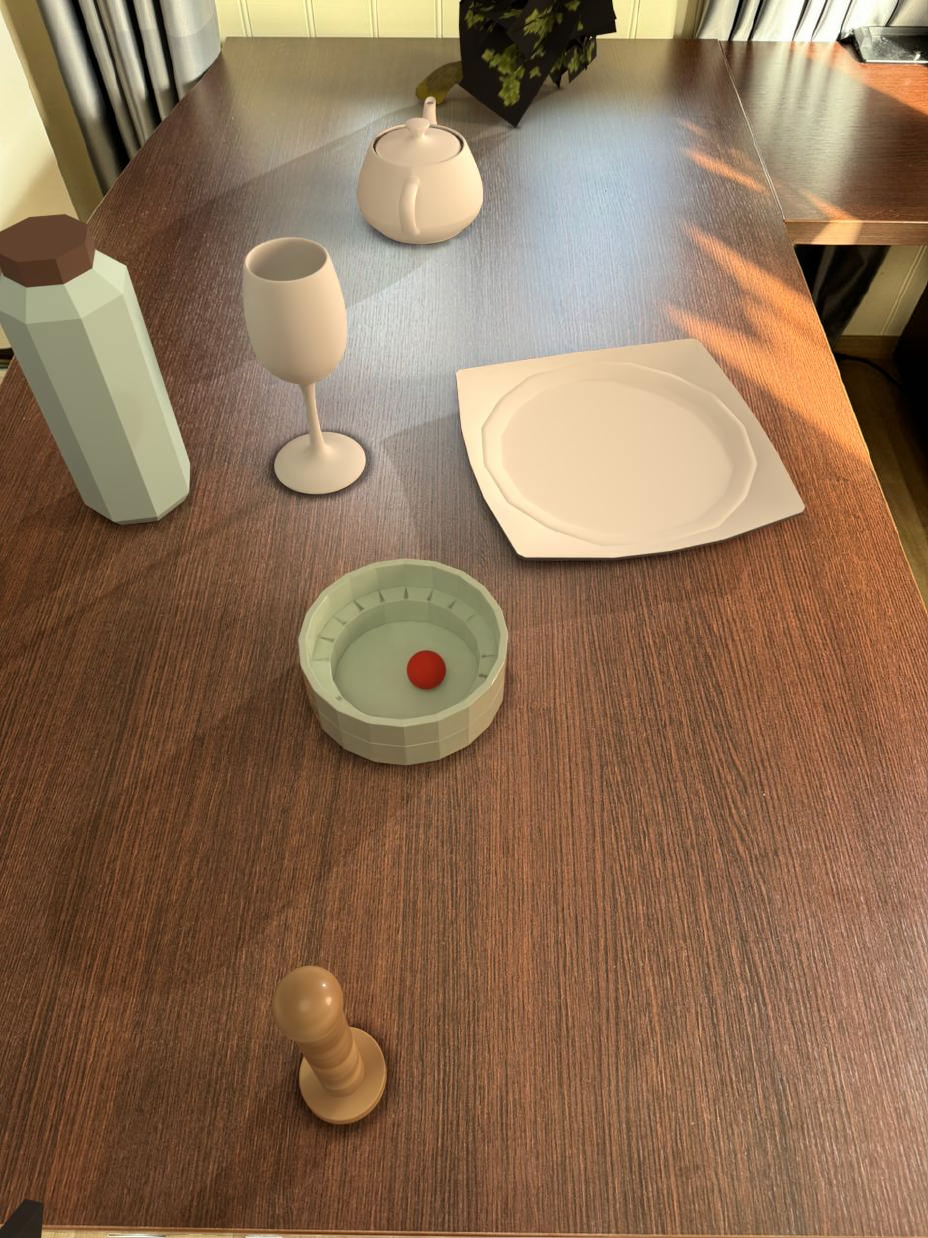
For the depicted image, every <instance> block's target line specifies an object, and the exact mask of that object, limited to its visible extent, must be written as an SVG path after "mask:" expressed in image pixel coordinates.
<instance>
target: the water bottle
mask: <svg viewBox="0 0 928 1238" xmlns="http://www.w3.org/2000/svg"><path fill="white" fill-rule="evenodd" d="M0 270H1V275H0V326H1V328H2V330H3V332H4V335H5V337H6V339H7V341H8V343H9V345H10V348H11V350H12V352H13V354H14V356H15V358H16V360H17V362H18V364H19V367H20V369H21V371H22V373H23V375H24V377H25V379H26V382H27V383H28V386H29V388H30V390H31V392H32V394H33V396H34V398H35V400H36V403H37V405H38V407H39V410H40V411H41V413H42V416H43V418H44V420H45V422H46V425H47V426H48V428H49V430H50V433H51V435H52V437H53V439H54V442H55V444H56V445H57V448H58V450H59V452H60V454H61V456H62V458H63V460H64V463H65V465H66V467H67V470H68V471H69V473H70V475H71V478H72V480H73V483H74V484H75V486H76V488H77V490H78V493H79V495H80V497H81V499H82V501H83V503H84V505H86V506H87V507H89V508H90V509H92V510H94V511H95V512H97V513H98V514H100V515H102V516H104V517H105V518H106V519H108V520H110V521H111V522H113V523H115V524H118V525H120V526H127V525H135V524H142V523H151V522H159V521H160V520H161V519H163V518H164V517H165V516H166V515H168V514H169V513H170V512H172V511H173V510H174V509H175V508H177V507H178V506H179V505H180V504H182V503H183V502H184V501H185V500H186V498H187V497H188V495H189V493H190V481H191V480H190V479H191V463H190V459H189V455H188V453H187V450H186V447H185V443H184V441H183V436H182V434H181V430H180V428H179V424H178V422H177V419H176V415H175V413H174V410H173V407H172V403H171V400H170V397H169V393H168V390H167V387H166V384H165V381H164V379H163V375H162V373H161V368H160V366H159V363H158V360H157V357H156V354H155V350H154V348H153V344H152V341H151V338H150V335H149V333H148V329H147V325H146V323H145V320H144V315H143V313H142V310H141V308H140V305H139V300H138V298H137V295H136V292H135V289H134V284H133V282H132V279H131V277H130V274H129V273H130V272H129V270H128V267H127V265H125V264H124V263H121V262H120V261H118V260H116V259H115V258H113V257H111V256H109V255H107V254H105V253H102V252H101V251H99V250H97V249H96V246H95V242H94V239H93V236H92V232H91V230H90V225H89V224H88V223H86V222H84V221H81V220H79V219H78V218H75V217H73V216H71V215H68V214H66V213H61V214H59V213H58V214H48V215H37V216H28V217H25V218H24V219H22V220H20V221H18V222H16V223H14V224H13V225H11V226H8V227H7V228H4V229H2V230H0Z"/></svg>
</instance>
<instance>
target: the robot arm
mask: <svg viewBox="0 0 928 1238" xmlns="http://www.w3.org/2000/svg"><path fill="white" fill-rule="evenodd" d="M44 1210H45V1203H44V1202H42V1201H38V1200H32V1199H29V1198H24V1199H23V1200H22V1202H21V1203H20V1204H19V1205H18V1206H17V1208H16V1209H15V1210H14V1211H13V1212H12V1214H11V1215H10V1216H9V1217H8V1218H7V1219H6V1221H5V1222H4V1223H3V1225H2V1226H1V1227H0V1238H42V1237H43V1235H42V1233H43V1222H44Z"/></svg>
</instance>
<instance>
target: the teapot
mask: <svg viewBox="0 0 928 1238" xmlns="http://www.w3.org/2000/svg"><path fill="white" fill-rule="evenodd" d="M436 107H437V105H436V100H435V98H434V97H428V98H427V99H426V100H425V101H424V103H423V110H422V116H421V117H412V118H409V119H407V120H406V121H405V123H403V124H397V125H395V126H391V127H388V128H386V129H384V130H382V131H380V132H378V133H377V134H376V135H375V136H374V137H373V138H372V139H371V141H370V143H369V145H368V148H367V151H366V153H365V156H364V160H363V162H362V165H361V168H360V172H359V175H358V180H357V181H358V182H357V188H356V201H357V205H358V209H359V211H360V213H361V215H362V217H363V218H364V219H365V221H366V222H367V223H368V224H369V225H370V226H372V227H373V228H374V229H375V230H376V231H378V232H380V233H381V234H382V235H384V236H385V237H387V238H389V239H390V240H394V241H396V242H399V243H404V244H412V245H427V244H436V243H437V244H438V243H442V242H444V241H447V240H449V239H453V238H454V237H456V236H458V235H459V234H461V232H462V231H463V230H464V229H466V228H467V227H468V226H470V224H471V223H472V222H474V220H475V219H476V218H477V217H478V215H479V213H480V210H481V208H482V206H483V201H484V189H483V181H482V176H481V174H480V171H479V168H478V166H477V163H476V161H475V158H474V155H473V153H472V151H471V149H470V146H469V144H468V143H467V141H466V139H465V137H464V136H463V135H462V134H461V133H460V132H458V131H456V129H453V128H451V127H448V126H444V125H441V124H438V123H437V116H436V115H437V114H436Z"/></svg>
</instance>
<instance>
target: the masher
mask: <svg viewBox="0 0 928 1238" xmlns="http://www.w3.org/2000/svg"><path fill="white" fill-rule="evenodd" d="M271 1013H272V1017H273V1021H274V1023H275V1025H276V1027H277V1028H278V1029H279V1031H280V1032H281V1033H282V1034H283V1035H284V1036H285V1037H287V1038H288V1039H290V1040H291V1041H294V1043H295V1044H296V1046H297V1047H298V1049H299V1051H300V1052H301V1054H302V1060H301V1062H300V1066H299V1072H298V1073H299V1074H298V1085H299V1089H300V1093H301V1097H302V1098H303V1100H304V1102H305V1104H306V1106H308V1108H309V1110H310V1111H311V1112H312V1113H313V1114H314V1115H315V1116H316V1117H317V1118H319V1119H320V1120H322V1121H324V1122H326V1123H329V1124H333V1125H348V1124H352V1123H355V1122H358V1121H359V1120H361V1119H363V1118H365V1117H366V1116H368V1114H370V1113H371V1112H372V1111H373V1110H374V1109H375V1107H376V1106H377V1105H378V1103H379V1102H380V1100H381V1098H382V1095H383V1094H384V1091H385V1088H386V1083H387V1064H386V1061H385V1057H384V1053H383V1051H382V1049H381V1047H380V1046H379V1045H380V1044H379V1043H378V1042H377V1041H376V1040H375V1038H373V1037H372V1035H370V1034H369V1033H368V1032H366V1031H365V1030H362V1029H360V1028H357V1027H354V1026H350V1025H349V1022H348V1020H347V1018H346V1016H345V1012H344V992H343V989H342V986H341V984H340V982H339V981H338V979H337V978H336V977H335V975H334V974H332V972H330V971H329V970H327V969H326V968H324V967H320V966H317V965H303V966H299V967H297V968H294V969H293V970H291V971H289V972H288V973H287V974H286V975H284V977H282V978H281V980H280V981H279V982H278V984H277V985H276V988H275V990H274V992H273V995H272V999H271Z"/></svg>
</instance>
